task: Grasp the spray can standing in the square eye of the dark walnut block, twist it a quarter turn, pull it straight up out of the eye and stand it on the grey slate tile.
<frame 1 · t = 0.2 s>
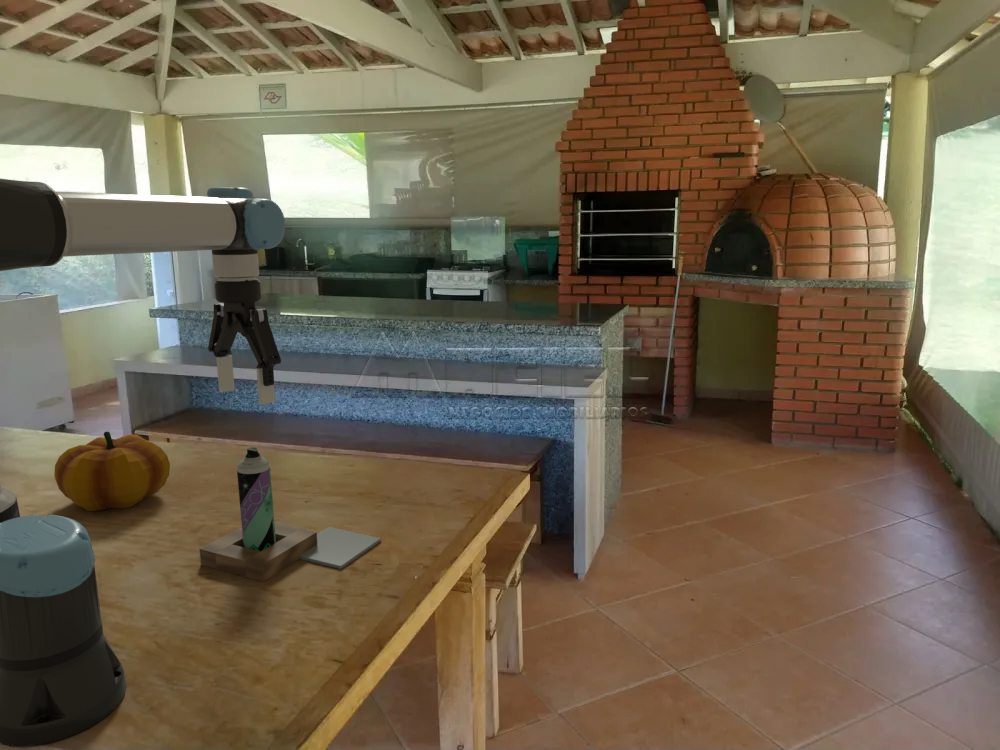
hand: (246, 397, 135), 27 cm above the table, fingers open, 13 cm apart
eye block: (260, 555, 133), on the table
spray can: (260, 557, 133), resting in eye block
decorative pumpkin: (117, 501, 159), on the table
slate tile: (334, 548, 136), on the table
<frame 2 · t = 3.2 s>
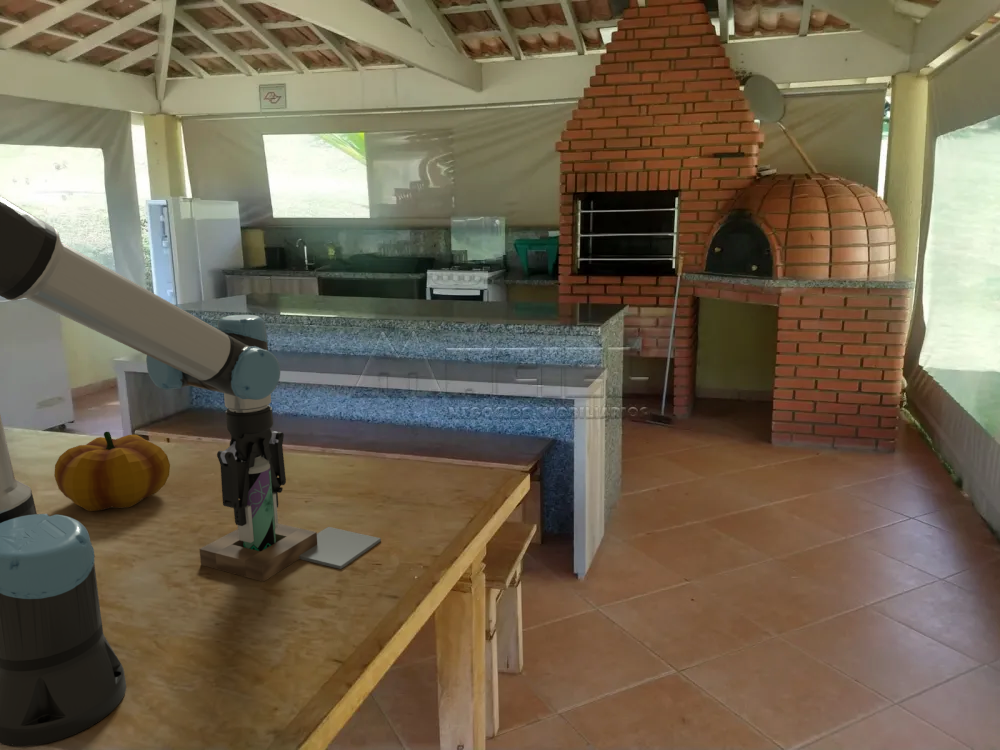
hand: (258, 533, 132), 4 cm above the table, fingers closed on spray can, 5 cm apart
spray can: (260, 556, 133), resting in eye block, touching gripper
everything else where it was.
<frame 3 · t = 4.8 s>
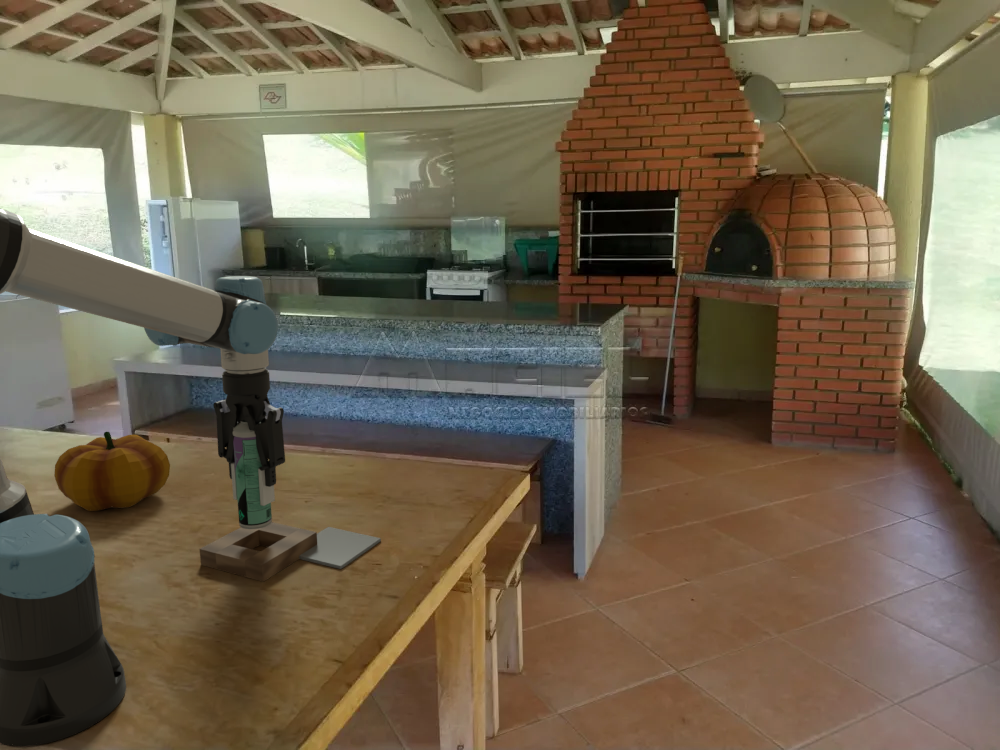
hand: (254, 499, 130), 11 cm above the table, fingers closed on spray can, 5 cm apart
spray can: (255, 524, 131), point 6 cm above the table, touching gripper
everything else where it was.
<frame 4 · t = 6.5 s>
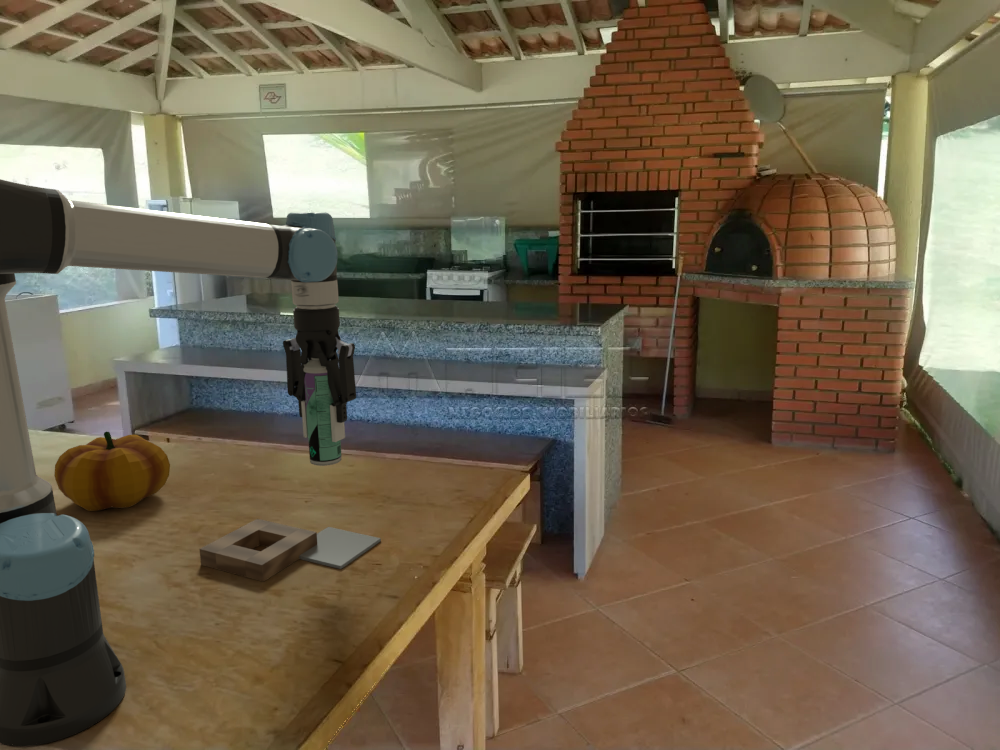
hand: (324, 437, 131), 21 cm above the table, fingers closed on spray can, 5 cm apart
spray can: (326, 461, 132), point 17 cm above the table, touching gripper
everything else where it was.
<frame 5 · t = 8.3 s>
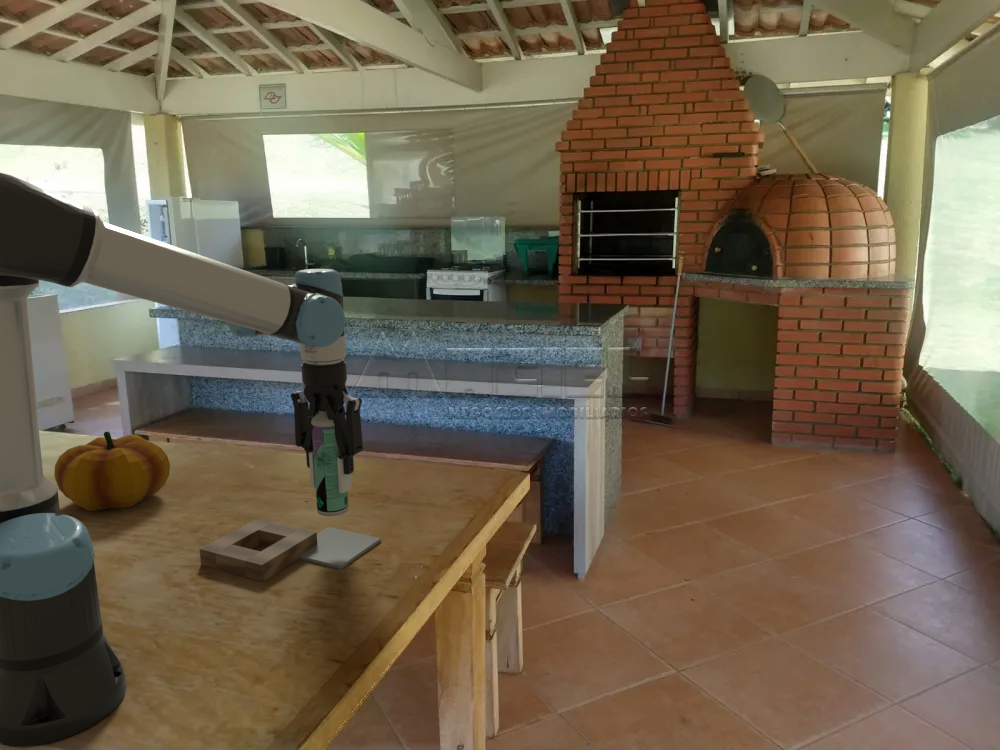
hand: (331, 487, 133), 12 cm above the table, fingers closed on spray can, 5 cm apart
spray can: (333, 511, 135), point 7 cm above the table, touching gripper
everything else where it was.
when the fingers open (6 cm above the table, at t = 9.8 s): spray can stays where it is, resting on slate tile.
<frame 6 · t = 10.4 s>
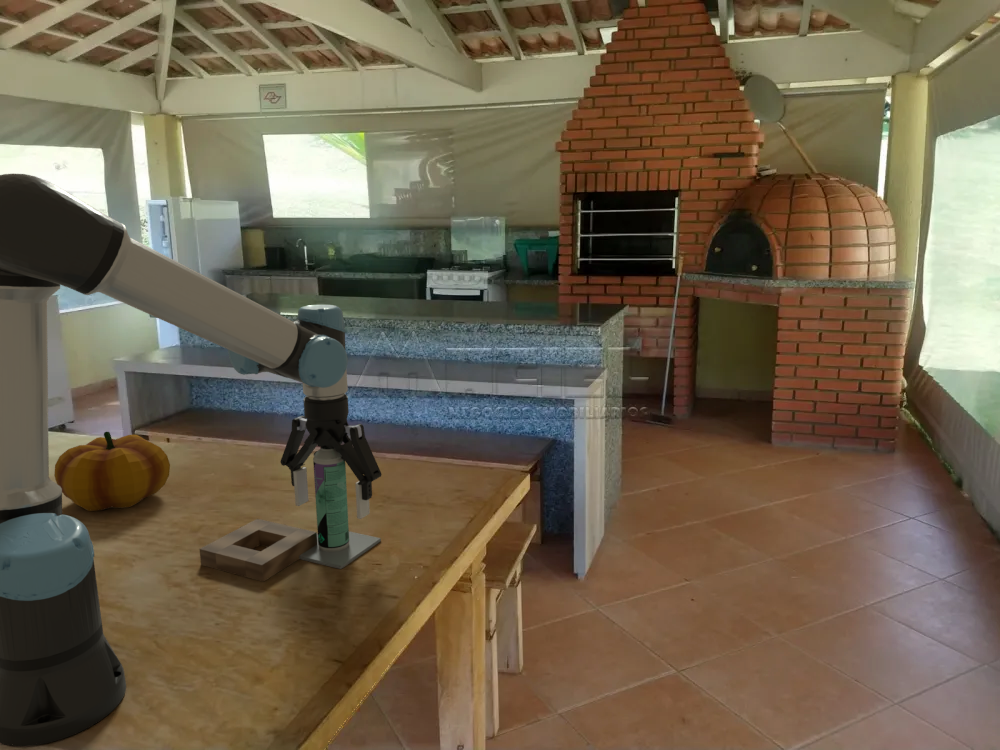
hand: (332, 509, 134), 8 cm above the table, fingers open, 13 cm apart
spray can: (334, 546, 136), resting on slate tile
everything else where it was.
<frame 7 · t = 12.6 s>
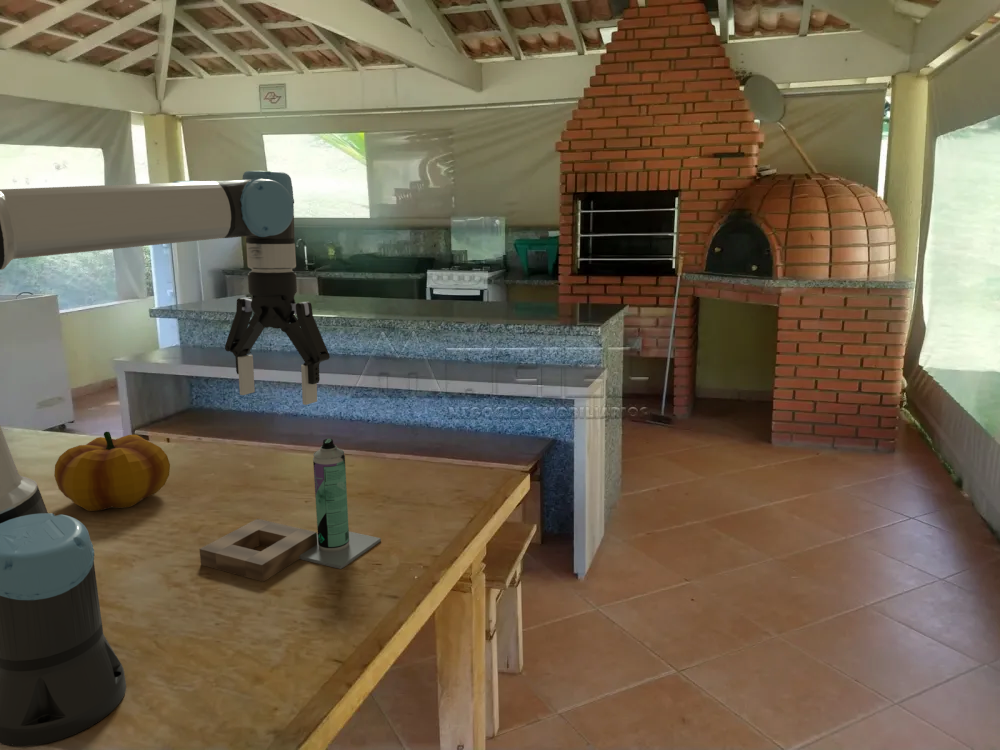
hand: (278, 398, 125), 29 cm above the table, fingers open, 13 cm apart
nothing on the table moved.
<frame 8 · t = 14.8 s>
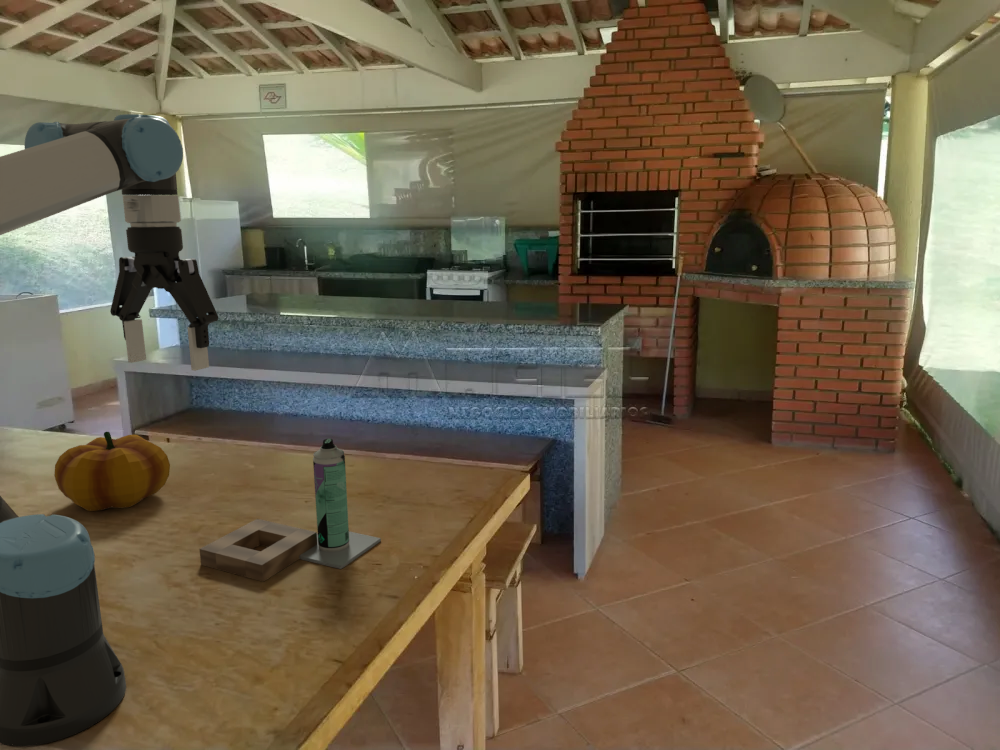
hand: (168, 365, 116), 37 cm above the table, fingers open, 13 cm apart
nothing on the table moved.
at the end: spray can inside the target area on the slate tile (0.0 cm from its centre), point 0.4 cm above the slate tile's base; spray can tilted 0°; the gripper is holding nothing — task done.
